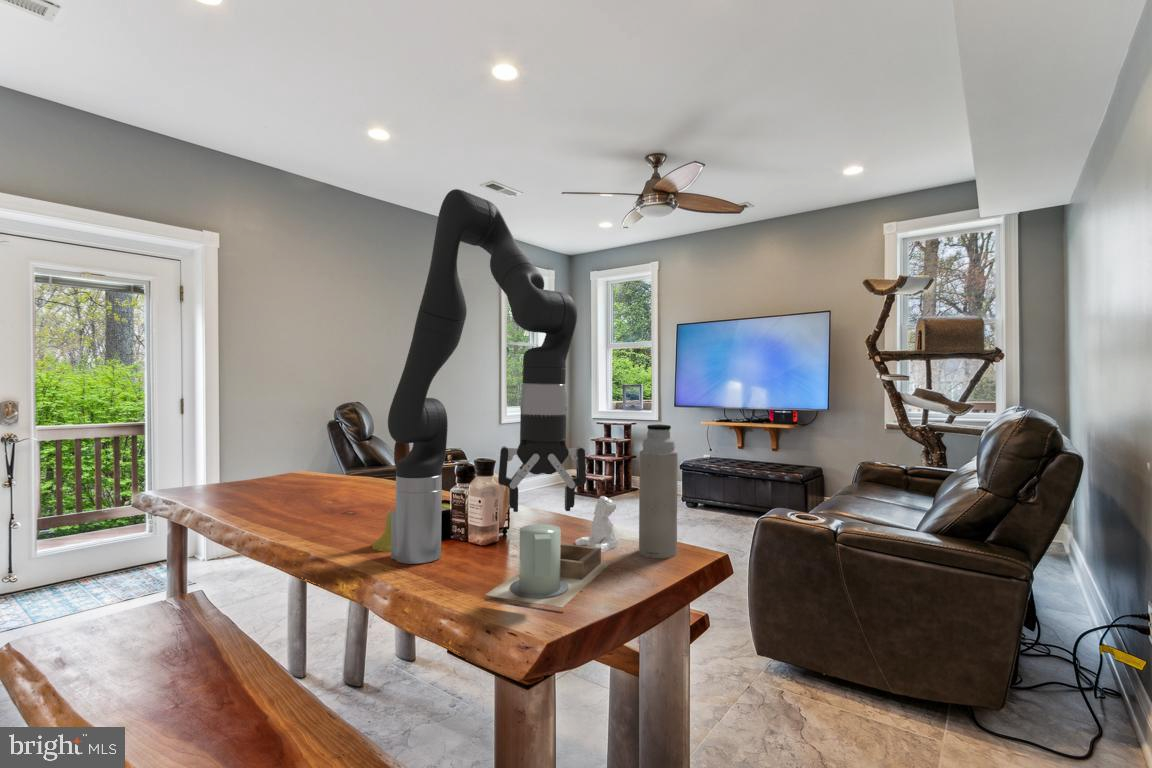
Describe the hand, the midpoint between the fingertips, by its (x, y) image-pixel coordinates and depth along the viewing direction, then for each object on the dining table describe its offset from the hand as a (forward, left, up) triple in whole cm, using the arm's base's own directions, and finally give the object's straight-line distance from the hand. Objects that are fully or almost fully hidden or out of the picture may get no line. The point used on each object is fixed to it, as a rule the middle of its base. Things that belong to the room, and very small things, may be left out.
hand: (541, 510), depth 93 cm
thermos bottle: (+12, +33, -16) cm, 39 cm away
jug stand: (-2, +10, -15) cm, 18 cm away
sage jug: (-1, +2, -14) cm, 14 cm away
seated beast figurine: (-1, +33, -16) cm, 37 cm away
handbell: (-44, +20, -16) cm, 51 cm away
